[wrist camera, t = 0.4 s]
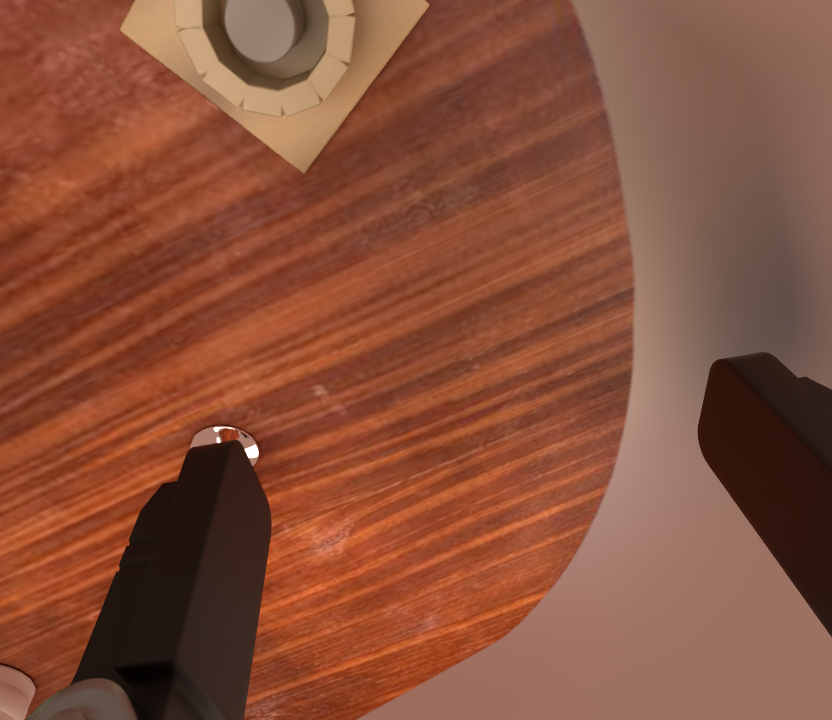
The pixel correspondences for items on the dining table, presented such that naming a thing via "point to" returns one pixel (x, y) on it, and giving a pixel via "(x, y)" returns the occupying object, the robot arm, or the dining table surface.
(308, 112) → the peg stand
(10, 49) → the dining table surface
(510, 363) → the dining table surface
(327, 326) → the dining table surface
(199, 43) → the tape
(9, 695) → the bottle
